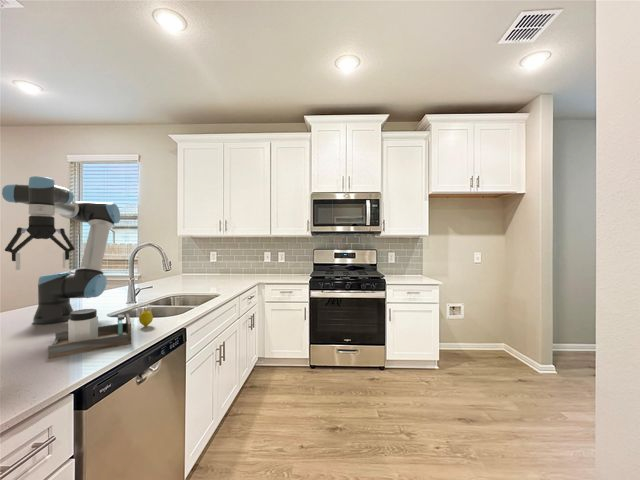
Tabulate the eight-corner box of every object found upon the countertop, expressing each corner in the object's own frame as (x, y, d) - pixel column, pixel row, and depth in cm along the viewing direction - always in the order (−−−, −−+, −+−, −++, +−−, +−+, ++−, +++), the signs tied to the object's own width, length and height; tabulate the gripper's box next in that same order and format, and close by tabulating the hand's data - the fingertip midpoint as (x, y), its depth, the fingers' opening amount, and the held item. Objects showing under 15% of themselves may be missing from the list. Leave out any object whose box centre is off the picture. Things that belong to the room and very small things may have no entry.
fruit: (155, 325, 138) (155, 308, 138) (145, 328, 133) (145, 311, 133) (146, 324, 140) (146, 307, 140) (136, 327, 135) (136, 310, 134)
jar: (66, 347, 107) (66, 315, 107) (70, 341, 114) (70, 310, 114) (97, 343, 112) (97, 312, 112) (98, 337, 119) (98, 307, 119)
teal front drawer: (55, 342, 115) (55, 322, 115) (128, 331, 129) (128, 313, 129) (48, 358, 100) (48, 335, 100) (131, 343, 115) (131, 323, 114)
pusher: (117, 331, 126) (117, 312, 126) (123, 330, 127) (123, 311, 127) (118, 341, 113) (118, 320, 113) (124, 340, 114) (124, 320, 114)
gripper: (-7, 213, 107) (-7, 271, 107) (81, 216, 121) (81, 267, 122) (-1, 214, 113) (-1, 269, 113) (82, 217, 128) (82, 266, 128)
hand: (41, 268), depth 117 cm, fingers open, 13 cm apart
